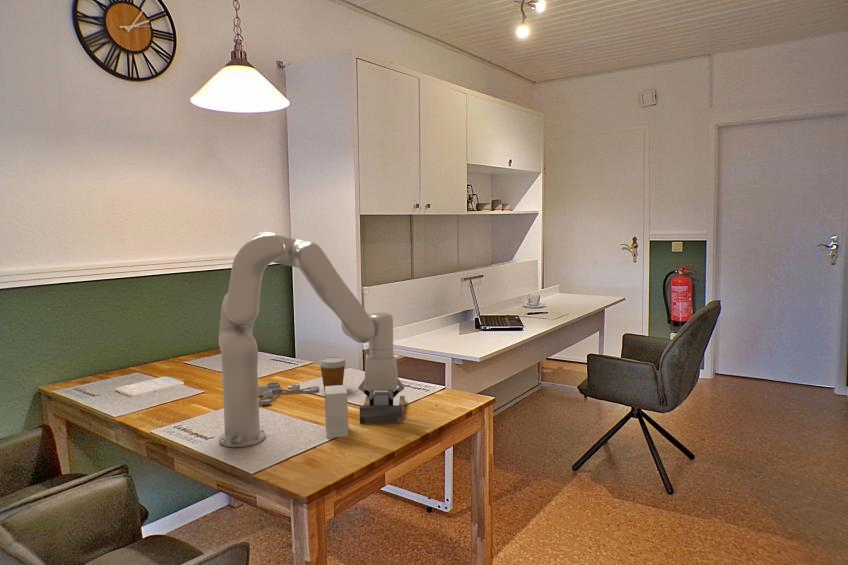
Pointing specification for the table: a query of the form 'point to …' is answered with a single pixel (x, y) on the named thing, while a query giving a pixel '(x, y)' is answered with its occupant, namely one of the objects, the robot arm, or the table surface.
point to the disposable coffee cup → (332, 371)
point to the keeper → (381, 398)
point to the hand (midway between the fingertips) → (381, 409)
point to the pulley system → (276, 389)
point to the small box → (336, 411)
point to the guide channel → (381, 412)
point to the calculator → (149, 386)
